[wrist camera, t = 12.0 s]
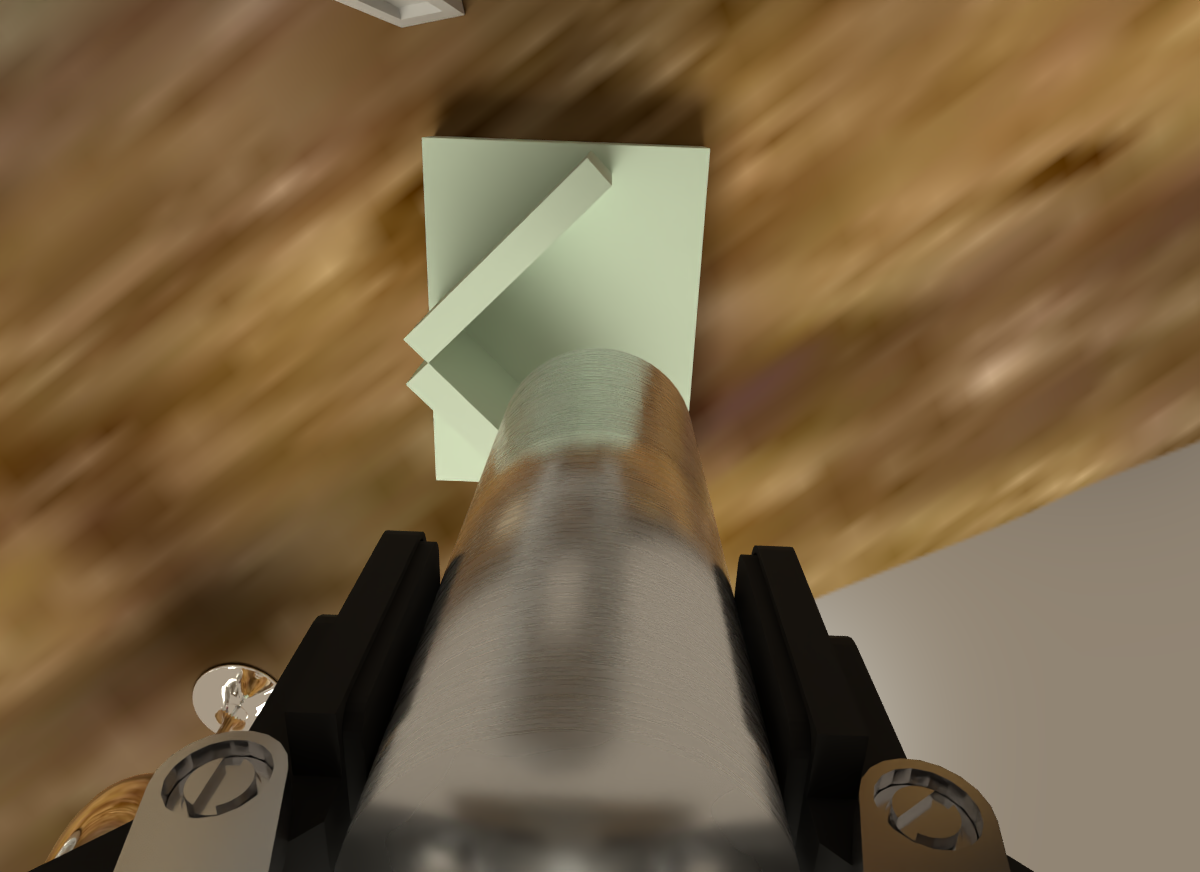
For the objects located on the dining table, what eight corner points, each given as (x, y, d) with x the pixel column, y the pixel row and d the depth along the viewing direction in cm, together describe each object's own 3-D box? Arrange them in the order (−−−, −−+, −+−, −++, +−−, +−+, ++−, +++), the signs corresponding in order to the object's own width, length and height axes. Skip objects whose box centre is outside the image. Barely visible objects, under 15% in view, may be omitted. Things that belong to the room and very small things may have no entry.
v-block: (446, 459, 33) (405, 543, 27) (434, 135, 29) (381, 142, 22) (678, 468, 33) (694, 554, 27) (703, 146, 29) (730, 155, 22)
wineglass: (326, 697, 38) (206, 942, 27) (262, 771, 39) (125, 1030, 28) (217, 630, 36) (43, 857, 25) (156, 709, 38) (-32, 956, 27)
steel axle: (699, 351, 18) (838, 744, 7) (685, 529, 20) (776, 1081, 8) (500, 344, 18) (310, 722, 7) (502, 522, 20) (350, 1062, 8)
